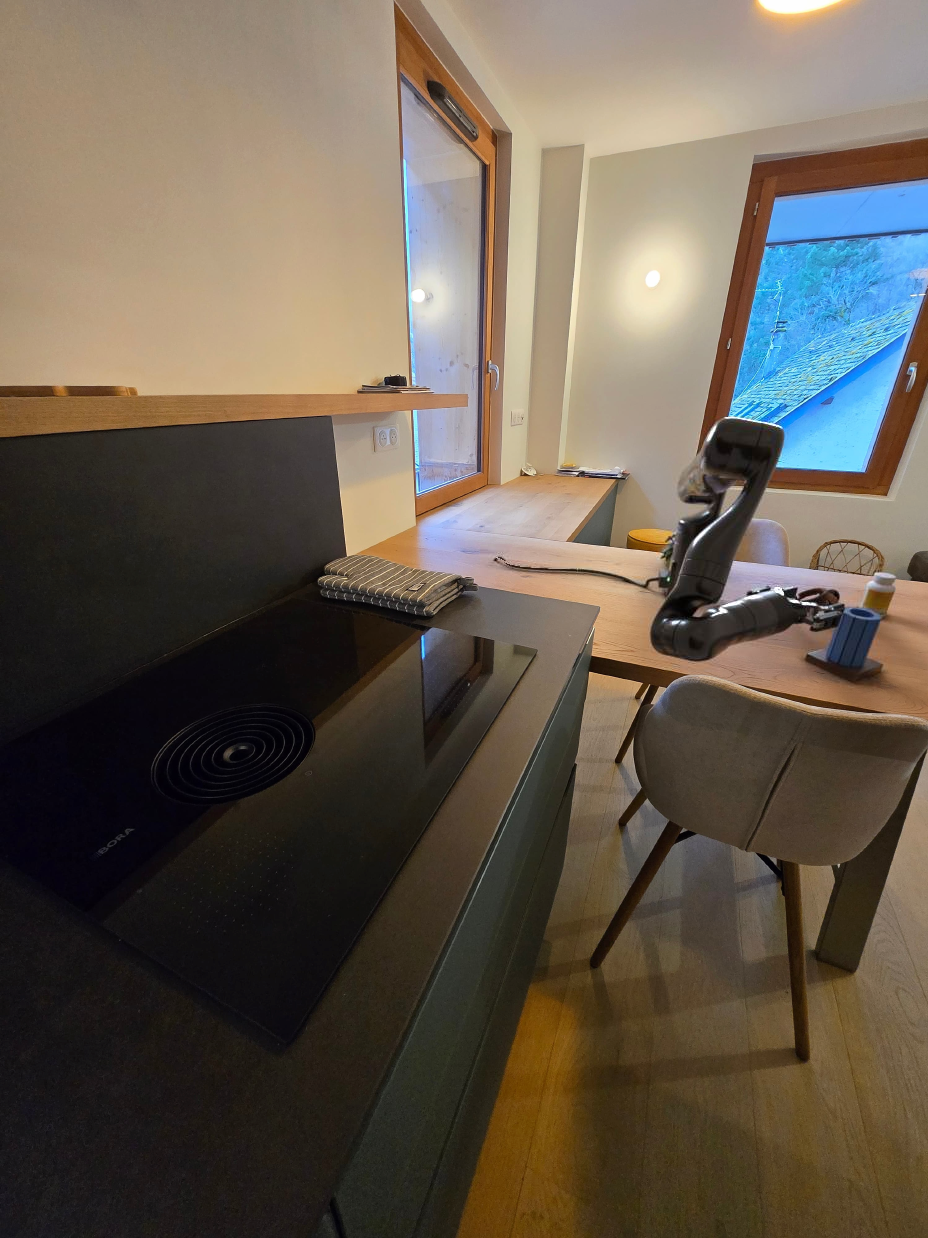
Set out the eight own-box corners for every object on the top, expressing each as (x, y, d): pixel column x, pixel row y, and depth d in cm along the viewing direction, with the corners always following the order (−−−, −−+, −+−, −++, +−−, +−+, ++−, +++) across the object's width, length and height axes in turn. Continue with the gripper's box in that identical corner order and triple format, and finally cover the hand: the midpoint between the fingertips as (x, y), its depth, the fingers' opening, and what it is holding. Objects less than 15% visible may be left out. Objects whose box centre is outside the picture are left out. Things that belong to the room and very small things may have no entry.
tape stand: (851, 681, 92) (868, 637, 88) (804, 660, 100) (818, 617, 96) (880, 671, 95) (898, 627, 91) (833, 650, 103) (847, 609, 99)
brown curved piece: (833, 633, 111) (820, 601, 110) (791, 634, 119) (778, 604, 118) (859, 607, 115) (847, 576, 114) (816, 611, 124) (804, 582, 123)
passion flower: (664, 577, 158) (672, 542, 159) (700, 578, 150) (708, 542, 152) (651, 565, 149) (660, 528, 151) (688, 566, 142) (697, 527, 143)
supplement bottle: (890, 618, 116) (905, 579, 112) (864, 616, 117) (878, 578, 113) (877, 609, 121) (892, 571, 117) (853, 607, 122) (866, 570, 118)
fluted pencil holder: (831, 664, 95) (848, 617, 91) (822, 649, 100) (837, 604, 96) (868, 669, 93) (887, 621, 89) (856, 653, 99) (874, 608, 94)
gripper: (801, 613, 77) (866, 594, 83) (725, 582, 89) (786, 568, 94) (788, 654, 80) (851, 633, 86) (716, 619, 92) (775, 603, 98)
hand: (817, 599), depth 90 cm, fingers open, 8 cm apart
